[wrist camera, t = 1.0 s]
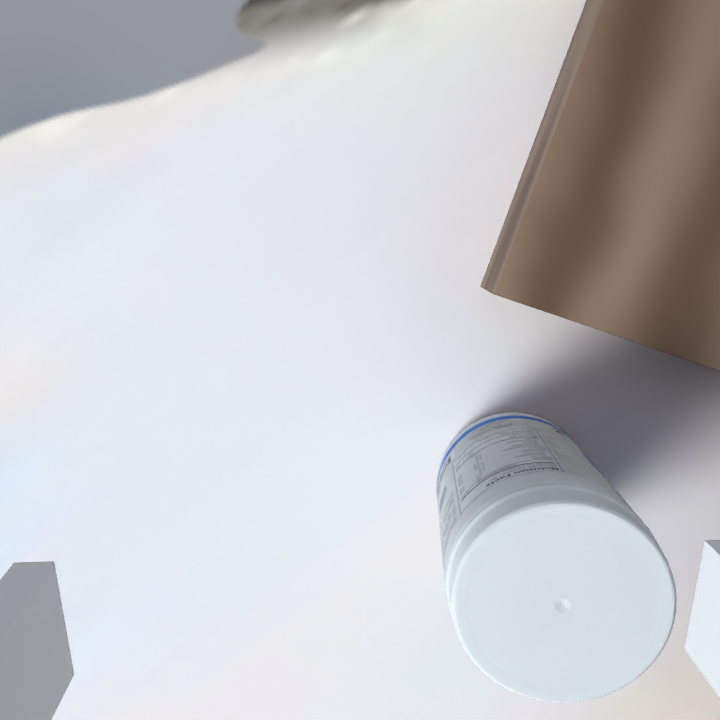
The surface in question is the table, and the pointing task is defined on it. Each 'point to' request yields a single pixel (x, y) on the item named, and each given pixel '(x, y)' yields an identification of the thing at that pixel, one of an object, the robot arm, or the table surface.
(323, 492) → the table surface
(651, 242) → the walnut riser
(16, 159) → the table surface
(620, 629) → the supplement tub
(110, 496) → the table surface
